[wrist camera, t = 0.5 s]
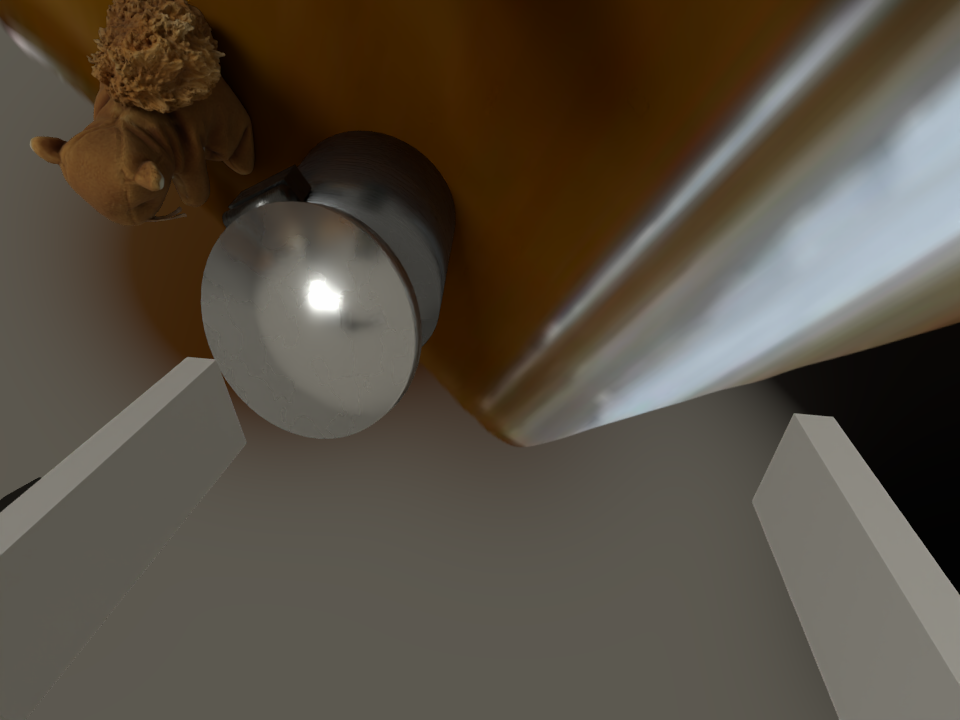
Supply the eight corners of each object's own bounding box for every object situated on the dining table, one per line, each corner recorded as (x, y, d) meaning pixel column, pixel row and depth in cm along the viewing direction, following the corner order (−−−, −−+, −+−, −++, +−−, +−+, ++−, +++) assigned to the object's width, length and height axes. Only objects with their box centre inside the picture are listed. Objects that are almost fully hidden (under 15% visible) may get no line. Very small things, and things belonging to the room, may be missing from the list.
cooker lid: (179, 239, 31) (159, 240, 30) (362, 149, 26) (349, 146, 25) (273, 448, 34) (259, 457, 33) (455, 402, 29) (448, 410, 28)
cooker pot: (247, 157, 39) (173, 233, 31) (392, 79, 34) (351, 145, 26) (357, 296, 49) (323, 383, 40) (481, 250, 44) (472, 338, 36)
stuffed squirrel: (126, 138, 39) (2, 221, 29) (106, -76, 29) (-85, -54, 20) (253, 190, 41) (176, 281, 32) (273, 8, 32) (172, 62, 22)
